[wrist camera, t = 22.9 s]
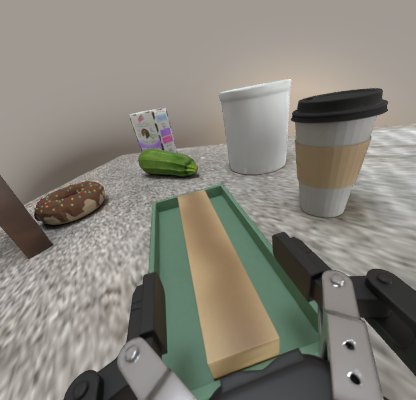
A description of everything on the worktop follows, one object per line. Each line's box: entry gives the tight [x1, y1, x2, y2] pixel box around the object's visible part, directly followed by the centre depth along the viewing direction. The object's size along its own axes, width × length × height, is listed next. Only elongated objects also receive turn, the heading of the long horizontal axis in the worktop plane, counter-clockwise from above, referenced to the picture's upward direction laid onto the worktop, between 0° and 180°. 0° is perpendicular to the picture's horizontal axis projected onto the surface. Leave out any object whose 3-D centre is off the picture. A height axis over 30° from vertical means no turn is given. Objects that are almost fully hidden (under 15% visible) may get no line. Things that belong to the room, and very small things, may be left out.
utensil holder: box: [219, 79, 292, 174], centre depth 44 cm, size 15×15×18 cm
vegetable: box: [138, 149, 198, 177], centre depth 52 cm, size 7×7×20 cm
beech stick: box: [178, 190, 279, 381], centre depth 21 cm, size 4×22×4 cm, turn 13°
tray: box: [148, 184, 319, 400], centre depth 24 cm, size 27×13×3 cm, turn 13°
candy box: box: [129, 108, 177, 153], centre depth 66 cm, size 14×6×16 cm, turn 51°
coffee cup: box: [291, 88, 388, 217], centre depth 25 cm, size 9×9×15 cm
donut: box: [34, 181, 105, 225], centre depth 43 cm, size 14×14×5 cm
